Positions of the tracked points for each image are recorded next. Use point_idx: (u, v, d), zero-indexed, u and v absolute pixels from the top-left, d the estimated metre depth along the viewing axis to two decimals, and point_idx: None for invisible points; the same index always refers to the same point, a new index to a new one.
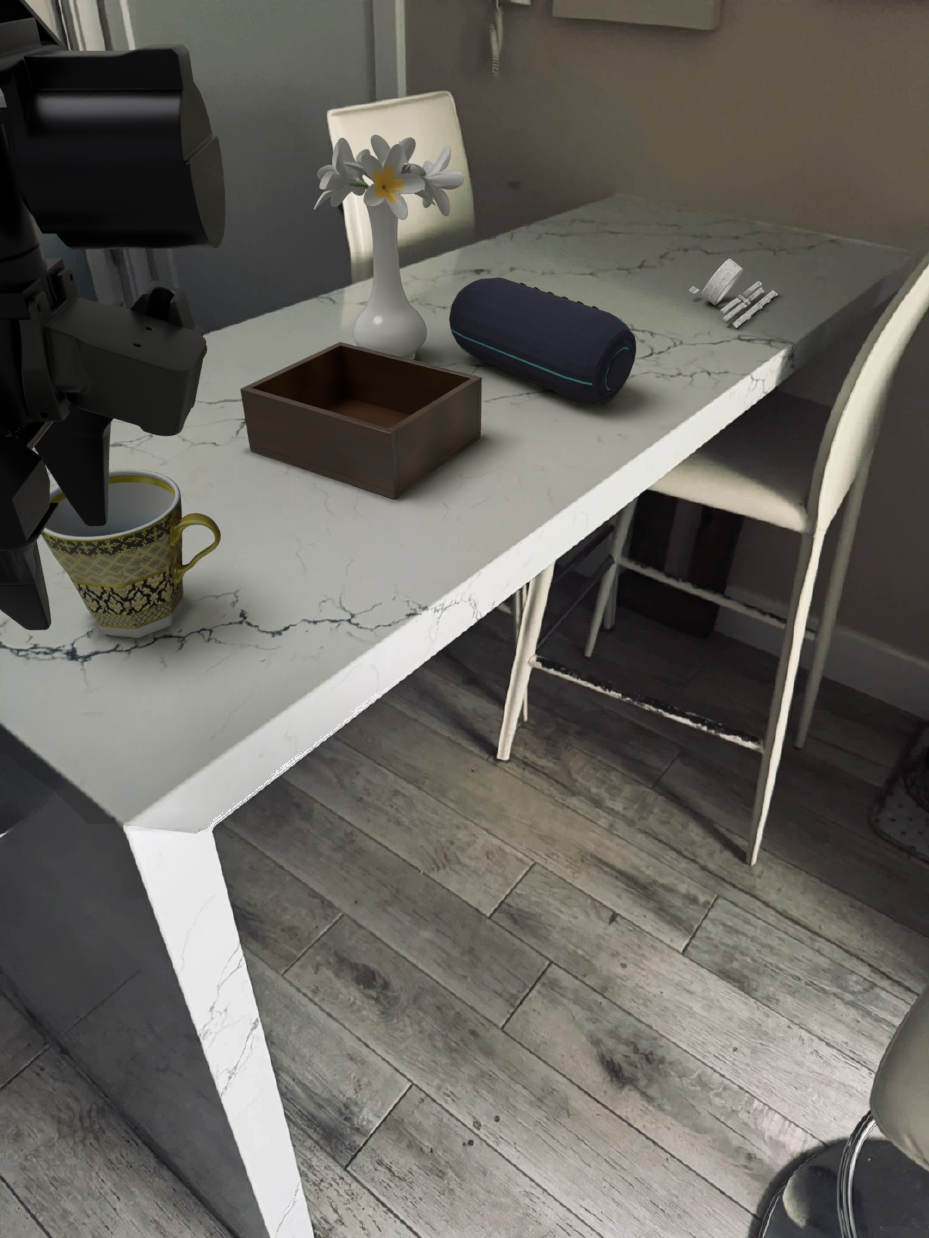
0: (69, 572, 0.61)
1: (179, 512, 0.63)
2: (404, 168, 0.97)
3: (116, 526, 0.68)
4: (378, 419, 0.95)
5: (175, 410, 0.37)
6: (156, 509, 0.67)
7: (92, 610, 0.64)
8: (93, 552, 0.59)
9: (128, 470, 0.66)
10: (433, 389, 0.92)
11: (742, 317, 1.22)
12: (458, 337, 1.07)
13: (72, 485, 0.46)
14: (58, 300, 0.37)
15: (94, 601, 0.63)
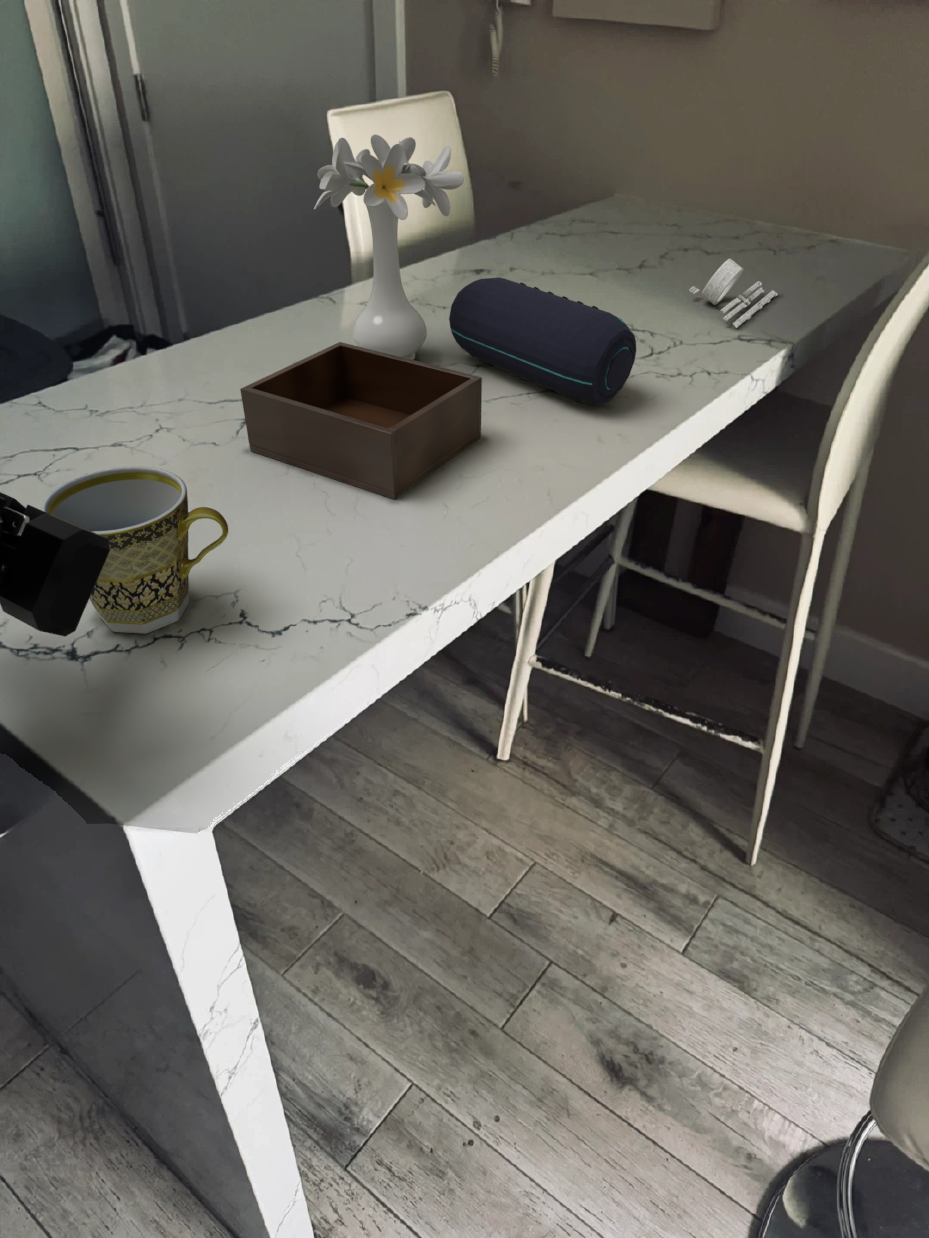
0: None
1: (186, 507, 0.64)
2: (404, 168, 0.97)
3: (120, 524, 0.68)
4: (378, 419, 0.95)
5: None
6: (160, 506, 0.68)
7: (100, 606, 0.64)
8: None
9: (132, 467, 0.67)
10: (433, 389, 0.92)
11: (742, 317, 1.22)
12: (458, 337, 1.07)
13: None
14: None
15: (102, 597, 0.64)
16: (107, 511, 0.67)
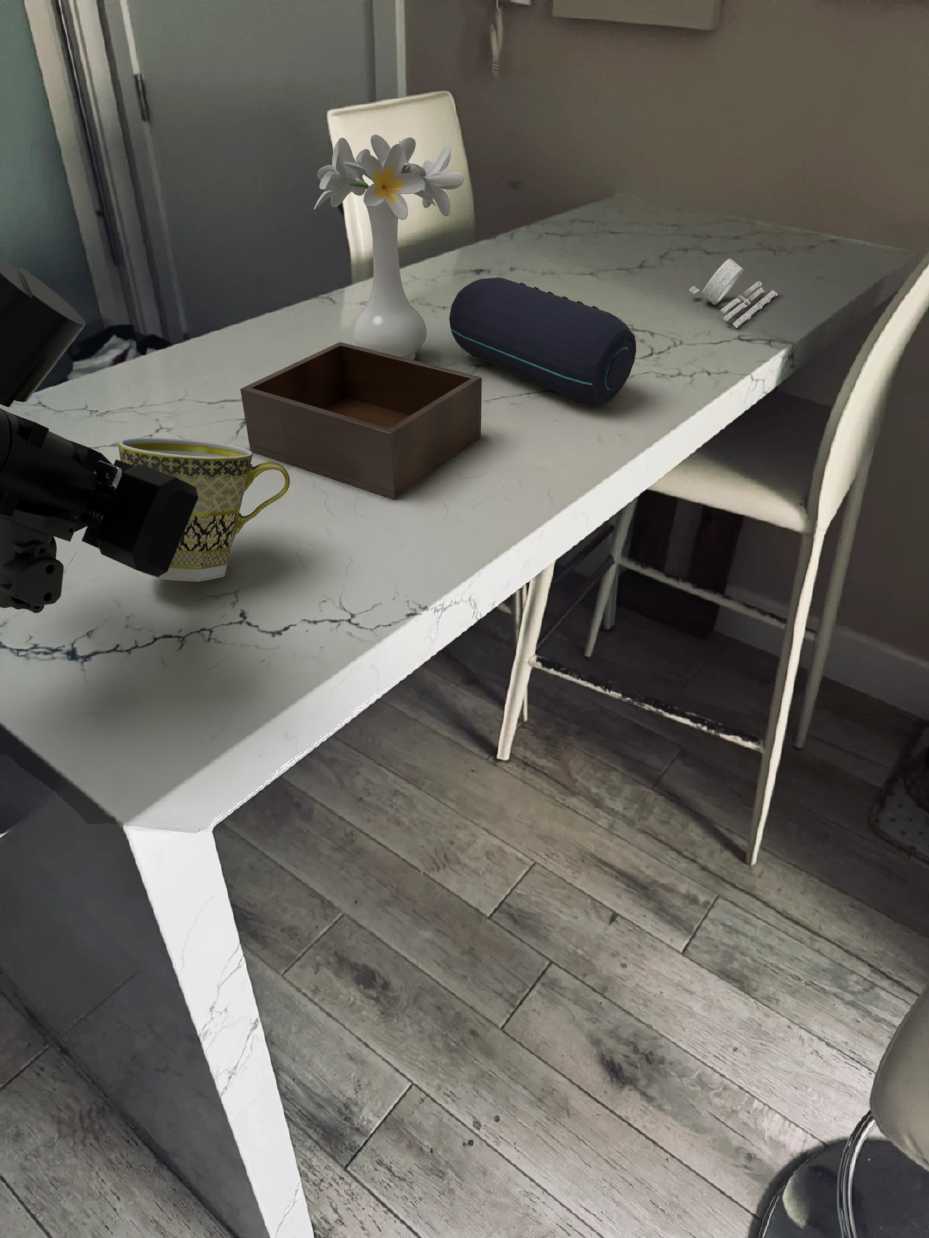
0: None
1: None
2: (404, 168, 0.97)
3: None
4: (378, 419, 0.95)
5: None
6: None
7: None
8: (196, 472, 0.64)
9: (183, 439, 0.72)
10: (433, 389, 0.92)
11: (742, 317, 1.22)
12: (458, 337, 1.07)
13: None
14: None
15: None
16: None
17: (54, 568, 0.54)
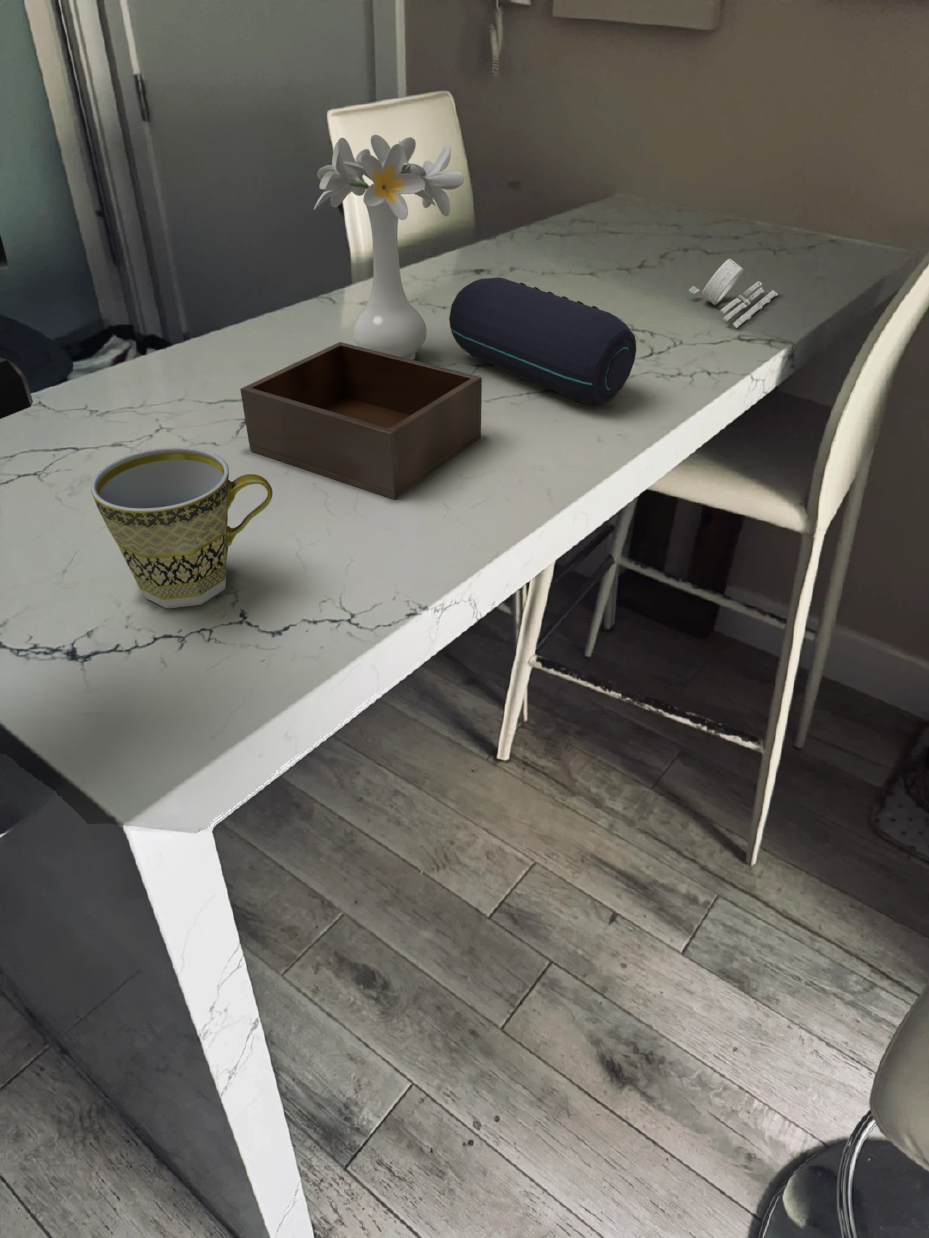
0: (141, 547, 0.64)
1: None
2: (404, 168, 0.97)
3: (148, 507, 0.70)
4: (378, 419, 0.95)
5: None
6: (187, 483, 0.71)
7: (158, 584, 0.67)
8: (172, 521, 0.63)
9: (157, 449, 0.69)
10: (433, 389, 0.92)
11: (742, 317, 1.22)
12: (458, 337, 1.07)
13: None
14: None
15: (162, 574, 0.66)
16: (136, 496, 0.69)
17: None
